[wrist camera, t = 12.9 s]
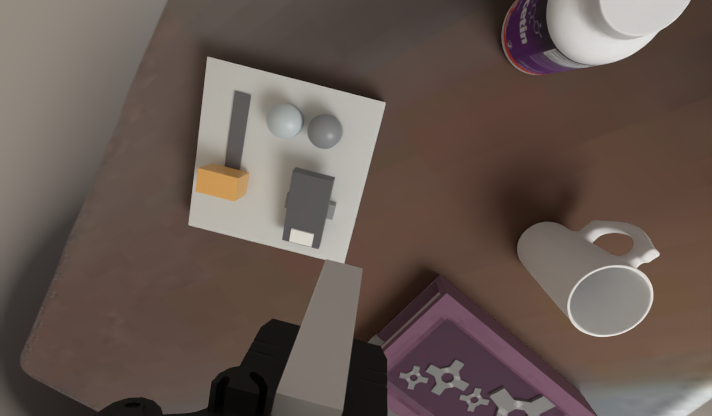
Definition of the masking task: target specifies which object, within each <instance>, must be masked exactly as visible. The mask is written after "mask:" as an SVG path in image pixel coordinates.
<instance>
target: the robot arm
mask: <svg viewBox="0 0 712 416" xmlns="http://www.w3.org/2000/svg"><path fill="white" fill-rule="evenodd" d="M362 270H363V269H362V268H359V267H355V266H351V265H347V264H344V263H340V262H336V261H332V260H328V259H326V260H325V263H324V266H323V268H322V271H321V274H320V276H319V279H318V282H317V284H316V287H315V290H314V292H313V295H312V298H311V300H310V303H309V306H308V308H307V311H306V314H305V316H304V319H303V322H302V324H301V326H299V325H295V324H291V323H287V322H283V321H280V320H276V319H272V320H270V321H269V322H268V323H266V324H265V325H263V326H262V327H261V328H260V330H259V332H258V333H257V335H256V337H255V339H254V342H253V343H252V344H251V346H250V348H249V350H248V352H247V354H246V355H245V357H244V359H243V361H242V363H241V365H240V366H238V367H232V368H229V369H227V370H225V371H223V372H221V373H220V374H219V375H218V376H217V377H216V378H215V379H214V380H213V381H212V383H211V390H210V396H209V403H208V408H206V409H203V410H200V411H197V412H192V413H185V414H165V415H163V414H162V410H161V407H160V406H159V405H157V404H156V403H155V402H154V401H152V400H149V399H146V398H143V397H140V398H127V399H123V400H120V401H117V402H114V403H112V404H111V405H109V406H107V407H106V408H104V409H102V410H101V411H99V412H98V413H97V414H95V415H94V416H387V358H386V356H385V354H384V352H383V350H382V348H381V346H378V345H375V344H371V343H367V342H363V341H360V340H356V339H353V335H354V328H355V321H356V313H357V306H358V299H359V292H360V284H361V277H362Z"/></svg>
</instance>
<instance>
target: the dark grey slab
mask: <svg viewBox="0 0 712 416" xmlns="http://www.w3.org/2000/svg"><path fill="white" fill-rule="evenodd" d="M334 181H335V177H333V176H329V175H325V174H321V173H317V172H313V171H309V170H305V169H302V168H298V167H295V169H294V170H293V171H292V177H291V184H290V190H289V197H288V204H287V210H286V217H285V223H284V230H283V237H282V240H284V241H288V242H292V243H296V244H300V245H304V246H308V247H311V248H315V249H319V247H320V244H321V241H322V236H323V232H324V227H325V222H326V218H327V213H328V209H329V204H330V199H331V195H332V190H333V186H334Z"/></svg>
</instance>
